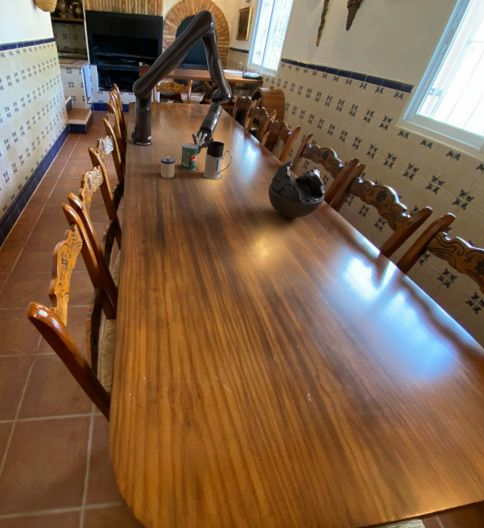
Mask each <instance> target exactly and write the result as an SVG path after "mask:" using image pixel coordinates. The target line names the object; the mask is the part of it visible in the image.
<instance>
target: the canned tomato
mask: <svg viewBox="0 0 484 528" xmlns="http://www.w3.org/2000/svg"><path fill="white" fill-rule="evenodd" d="M198 155H199V154H198V145H196V144H194V142H193V143H192V142H188V143H186V142H185V143H183V144H181V158H180V159H181V160H180V169H182V170H184V171H189V172H190V171H195V170H197V165H198V164H197V163H198Z"/></svg>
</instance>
